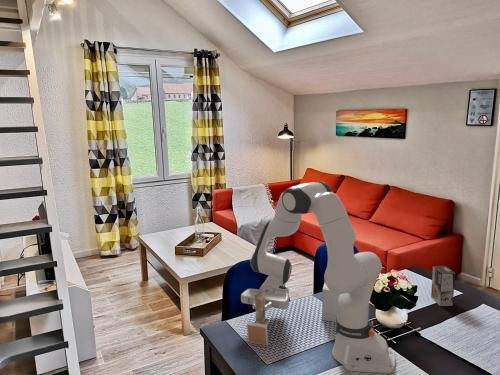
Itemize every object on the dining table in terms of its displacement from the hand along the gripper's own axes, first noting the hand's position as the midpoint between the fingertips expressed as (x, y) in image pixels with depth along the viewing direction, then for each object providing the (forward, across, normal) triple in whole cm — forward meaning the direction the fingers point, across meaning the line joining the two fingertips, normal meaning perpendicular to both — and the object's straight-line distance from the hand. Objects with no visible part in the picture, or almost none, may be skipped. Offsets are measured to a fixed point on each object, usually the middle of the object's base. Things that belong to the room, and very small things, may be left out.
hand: (259, 308), depth 151 cm
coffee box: (-54, +73, +14) cm, 92 cm away
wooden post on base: (-1, 0, +8) cm, 8 cm away
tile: (+2, 0, +14) cm, 14 cm away
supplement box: (-26, +26, +14) cm, 39 cm away
